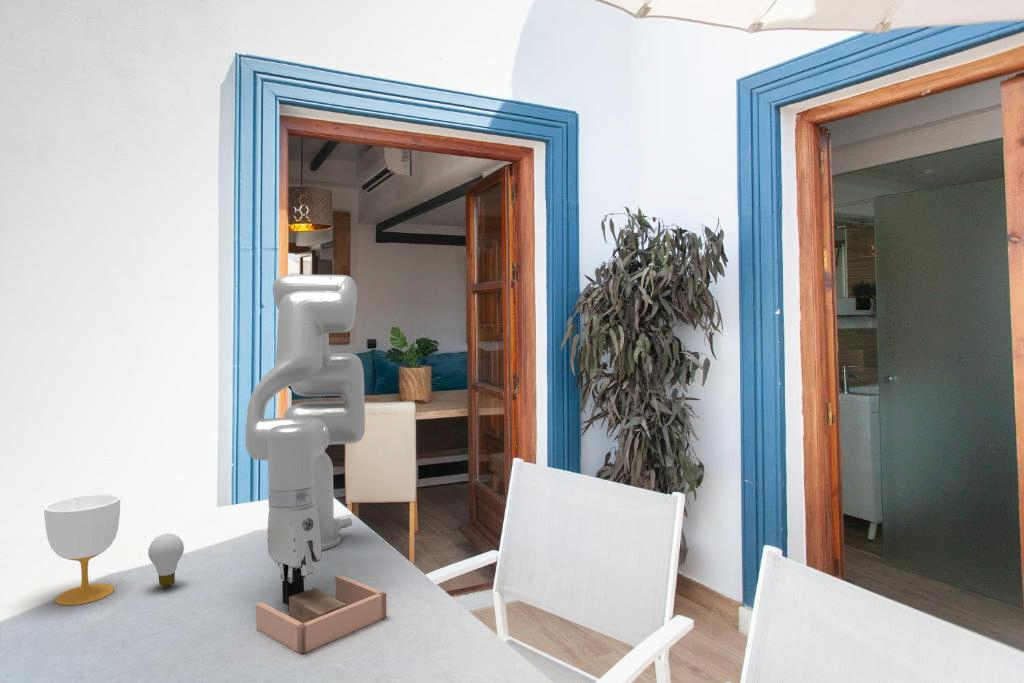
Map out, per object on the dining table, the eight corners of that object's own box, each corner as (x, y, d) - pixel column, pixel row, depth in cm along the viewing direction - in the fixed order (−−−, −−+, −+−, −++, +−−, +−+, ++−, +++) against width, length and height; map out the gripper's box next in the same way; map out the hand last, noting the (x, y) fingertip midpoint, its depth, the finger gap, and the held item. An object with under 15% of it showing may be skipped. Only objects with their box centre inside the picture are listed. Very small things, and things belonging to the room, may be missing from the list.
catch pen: (340, 596, 117) (339, 574, 117) (386, 616, 109) (386, 593, 109) (256, 628, 105) (256, 604, 105) (301, 654, 97) (301, 627, 97)
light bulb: (169, 594, 119) (168, 540, 119) (141, 592, 120) (140, 538, 120) (191, 582, 125) (190, 530, 124) (164, 579, 126) (163, 528, 125)
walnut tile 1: (315, 607, 113) (315, 587, 113) (332, 615, 110) (331, 595, 110) (289, 617, 110) (288, 596, 110) (305, 626, 106) (305, 604, 106)
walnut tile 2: (329, 616, 110) (329, 596, 110) (347, 625, 107) (346, 604, 106) (303, 627, 106) (302, 605, 106) (320, 636, 103) (320, 614, 103)
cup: (131, 593, 119) (129, 501, 119) (54, 615, 111) (52, 515, 110) (111, 577, 127) (109, 490, 127) (38, 595, 119) (36, 502, 118)
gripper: (336, 499, 110) (337, 606, 111) (287, 485, 120) (289, 584, 120) (296, 509, 104) (298, 622, 105) (248, 494, 114) (250, 597, 115)
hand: (293, 601), depth 113 cm, fingers closed
